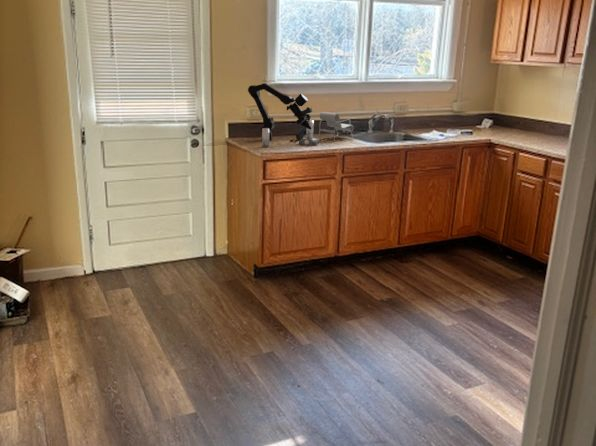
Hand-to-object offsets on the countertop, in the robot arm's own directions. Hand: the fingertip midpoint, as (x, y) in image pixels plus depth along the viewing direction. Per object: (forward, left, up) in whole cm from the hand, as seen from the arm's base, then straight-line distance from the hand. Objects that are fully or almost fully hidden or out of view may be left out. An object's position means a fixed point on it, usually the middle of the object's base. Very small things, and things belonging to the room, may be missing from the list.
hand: (311, 128), depth 391 cm
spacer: (-24, -26, -10) cm, 37 cm away
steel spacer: (-1, 0, -7) cm, 7 cm away
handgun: (-10, +18, -11) cm, 23 cm away
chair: (+11, +29, -11) cm, 33 cm away
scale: (-1, -1, -10) cm, 11 cm away
